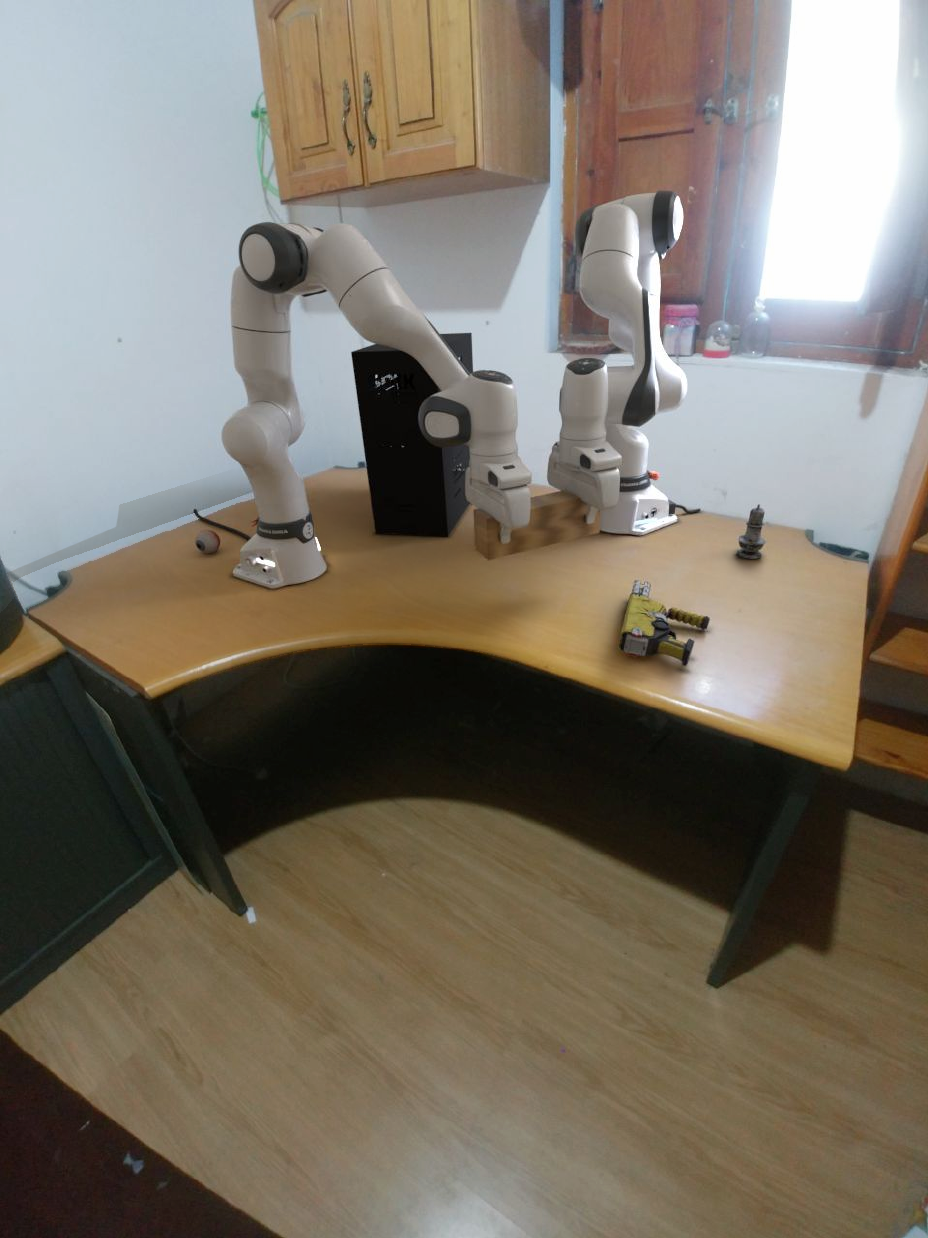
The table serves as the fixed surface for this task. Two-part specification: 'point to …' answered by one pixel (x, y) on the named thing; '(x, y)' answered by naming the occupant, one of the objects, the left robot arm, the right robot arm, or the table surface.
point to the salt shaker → (752, 535)
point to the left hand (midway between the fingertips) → (495, 535)
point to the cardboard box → (408, 443)
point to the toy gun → (655, 627)
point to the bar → (536, 526)
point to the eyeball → (207, 541)
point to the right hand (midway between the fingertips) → (578, 517)
